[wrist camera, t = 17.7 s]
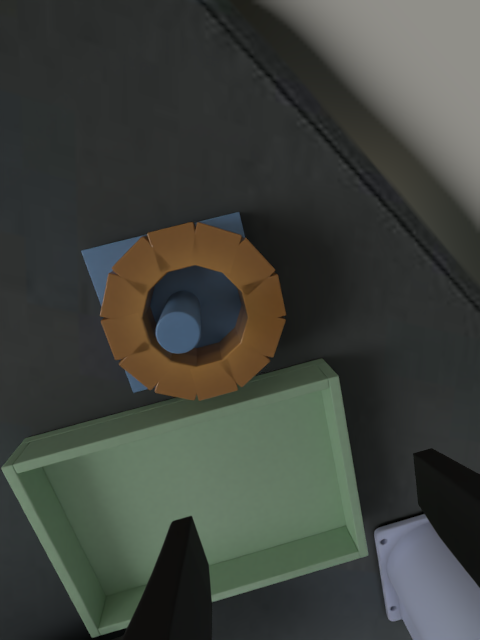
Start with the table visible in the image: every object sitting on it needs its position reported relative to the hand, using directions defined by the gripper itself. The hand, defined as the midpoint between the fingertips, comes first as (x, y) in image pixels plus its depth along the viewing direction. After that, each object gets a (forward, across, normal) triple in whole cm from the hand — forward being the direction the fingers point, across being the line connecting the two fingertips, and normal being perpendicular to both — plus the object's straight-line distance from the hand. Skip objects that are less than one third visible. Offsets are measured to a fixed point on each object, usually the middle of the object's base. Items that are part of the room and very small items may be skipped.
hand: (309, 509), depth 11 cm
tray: (+10, +5, +7) cm, 13 cm away
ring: (+9, +2, -5) cm, 11 cm away
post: (+10, +3, -5) cm, 12 cm away
